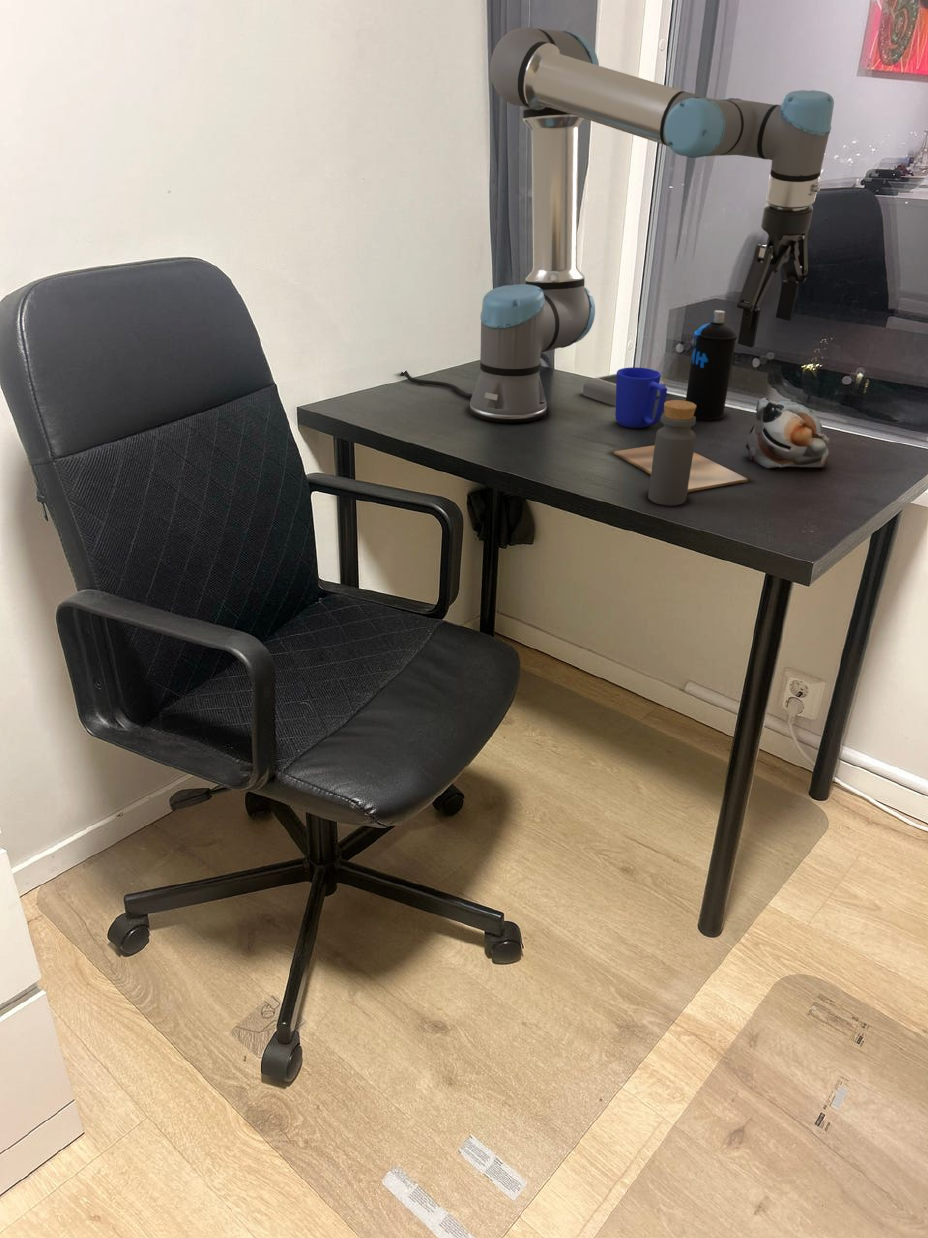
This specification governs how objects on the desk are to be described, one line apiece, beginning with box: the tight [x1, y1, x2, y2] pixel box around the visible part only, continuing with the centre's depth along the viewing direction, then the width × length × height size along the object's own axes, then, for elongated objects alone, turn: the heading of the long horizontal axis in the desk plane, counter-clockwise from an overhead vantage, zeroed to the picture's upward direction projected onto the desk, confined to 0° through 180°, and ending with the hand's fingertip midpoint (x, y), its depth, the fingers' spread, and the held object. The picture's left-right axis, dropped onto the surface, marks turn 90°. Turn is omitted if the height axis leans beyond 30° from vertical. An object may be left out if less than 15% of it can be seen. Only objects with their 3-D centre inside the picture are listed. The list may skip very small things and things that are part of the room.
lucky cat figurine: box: [745, 397, 830, 469], centre depth 149 cm, size 15×12×14 cm
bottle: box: [647, 399, 697, 507], centre depth 134 cm, size 6×6×15 cm
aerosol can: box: [685, 309, 739, 422], centre depth 172 cm, size 8×8×20 cm
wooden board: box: [613, 444, 749, 493], centre depth 150 cm, size 20×13×1 cm, turn 25°
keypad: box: [582, 373, 667, 407], centre depth 187 cm, size 10×4×15 cm
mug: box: [615, 366, 668, 429], centre depth 166 cm, size 8×12×10 cm
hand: (765, 331), depth 155 cm, fingers open, 13 cm apart
